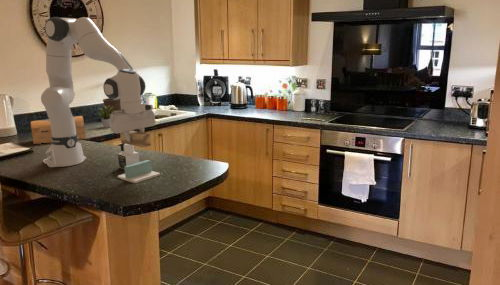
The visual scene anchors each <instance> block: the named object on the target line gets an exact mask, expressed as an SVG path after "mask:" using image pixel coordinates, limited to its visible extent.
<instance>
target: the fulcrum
mask: <svg viewBox="0 0 500 285" xmlns="http://www.w3.org/2000/svg"><path fill="white" fill-rule="evenodd" d="M124 169H125V170H124ZM124 169H123V170H124V173H122V174H119V175H117V179H121V180H123V181H126V182H129V183H132V184H138V183H140V182H144V181H147V180H150V179H153V178H156V177H159V176H161V173H160V172H157V171H153V169H152V160H149V159H145V160H143V161H139V162H138V163H135V164H131V165H128V166H124Z"/></svg>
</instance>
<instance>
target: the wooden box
mask: <svg viewBox="0 0 500 285" xmlns="http://www.w3.org/2000/svg"><path fill="white" fill-rule="evenodd" d="M73 117H74V121H75V128H76V134H77V135H78V141H79V140H86V139H87V137H86V129H85V126H86V125H85V123H84V122H85V121H84V117H83V115H78V116H77V115H76V116H73ZM30 130H31V131H30V132H31V136H32V142H33V143H32V144H33V145H34V144H40V143H49V144H51V137H52V132H51V125H50V121H49V118H47V119H40V120H39V119H38V120H32V121H30ZM40 145H41V144H40Z"/></svg>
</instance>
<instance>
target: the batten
mask: <svg viewBox="0 0 500 285" xmlns="http://www.w3.org/2000/svg"><path fill="white" fill-rule="evenodd" d="M119 136H120V142H121V144H122V143H125V144H129V145H134V147H139V148H147V147H150V146H152V144H151V142H152V141H151V134H150V133H148V132H144V133H142V132H140V131H137V130H131V131H129V136H130V137H132V141H127V137H126V136H125V134H124V132H122V133H119Z"/></svg>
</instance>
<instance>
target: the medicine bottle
mask: <svg viewBox="0 0 500 285" xmlns="http://www.w3.org/2000/svg"><path fill="white" fill-rule="evenodd" d="M120 151H121V152H118V153H117V159H118V167H119V168H120V169H121V170H122V169H123V171H125V169H124V166H128V165H131V164H135V163H138V162H140V155H139V152H137V151H135V146H134V145H129V144H125V143H121V144H120Z"/></svg>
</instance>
